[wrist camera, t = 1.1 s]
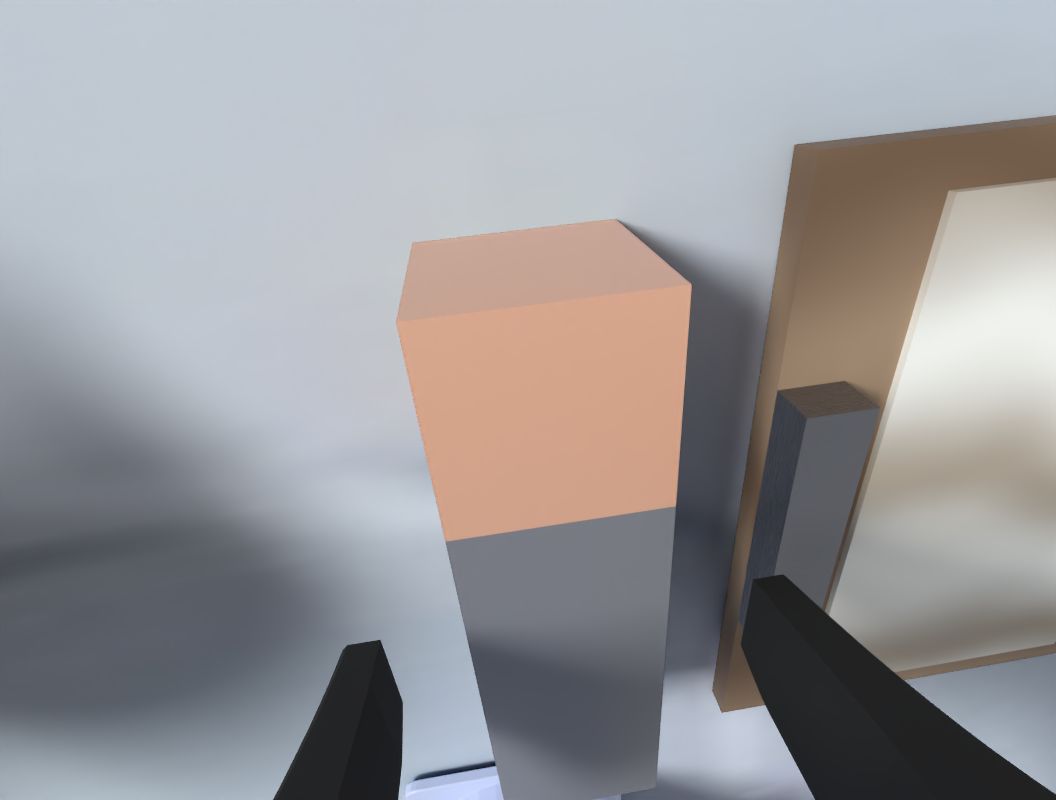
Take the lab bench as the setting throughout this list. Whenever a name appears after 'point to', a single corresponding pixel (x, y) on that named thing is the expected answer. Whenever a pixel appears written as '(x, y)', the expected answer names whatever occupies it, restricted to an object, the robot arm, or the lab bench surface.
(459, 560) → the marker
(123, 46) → the lab bench surface
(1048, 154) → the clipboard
